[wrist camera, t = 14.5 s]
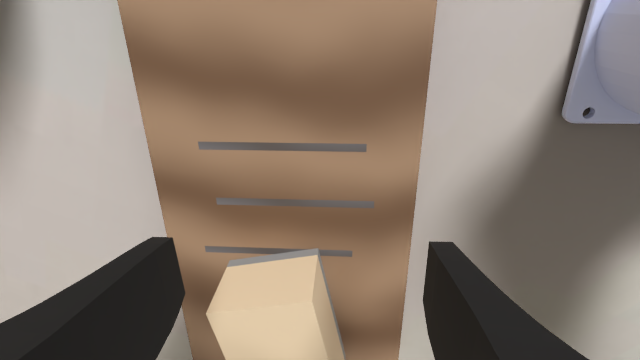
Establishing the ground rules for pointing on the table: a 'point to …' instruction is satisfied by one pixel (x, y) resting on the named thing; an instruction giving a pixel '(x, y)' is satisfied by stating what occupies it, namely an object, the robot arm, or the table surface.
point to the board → (287, 145)
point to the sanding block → (276, 309)
